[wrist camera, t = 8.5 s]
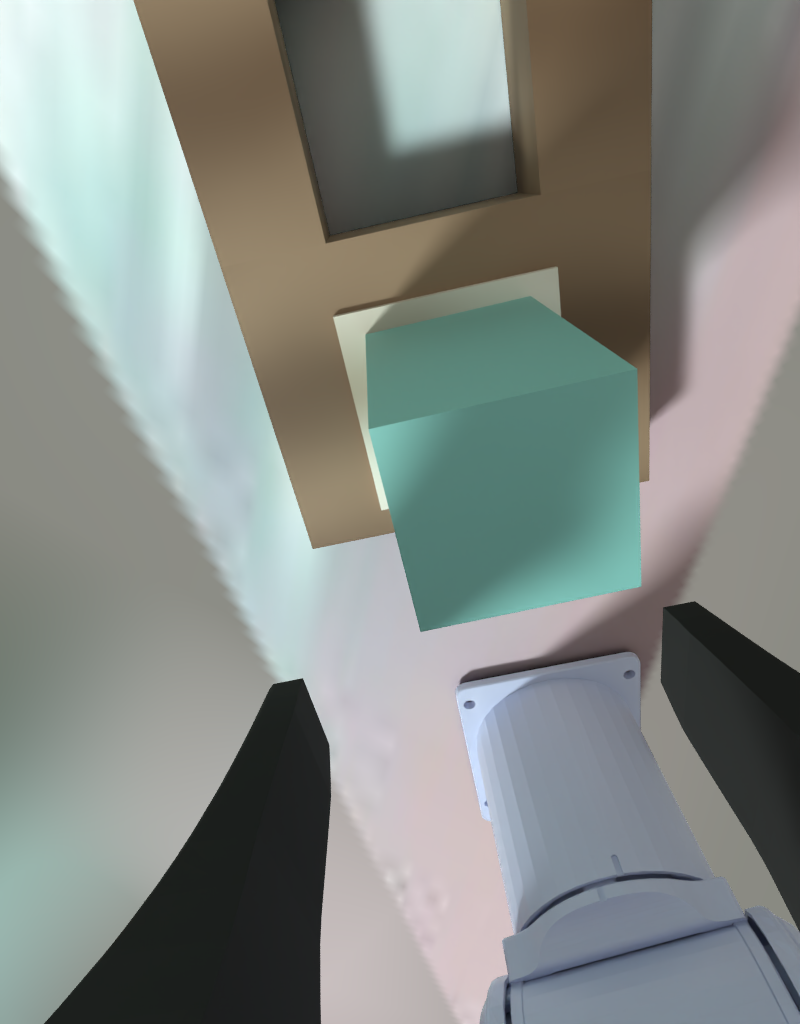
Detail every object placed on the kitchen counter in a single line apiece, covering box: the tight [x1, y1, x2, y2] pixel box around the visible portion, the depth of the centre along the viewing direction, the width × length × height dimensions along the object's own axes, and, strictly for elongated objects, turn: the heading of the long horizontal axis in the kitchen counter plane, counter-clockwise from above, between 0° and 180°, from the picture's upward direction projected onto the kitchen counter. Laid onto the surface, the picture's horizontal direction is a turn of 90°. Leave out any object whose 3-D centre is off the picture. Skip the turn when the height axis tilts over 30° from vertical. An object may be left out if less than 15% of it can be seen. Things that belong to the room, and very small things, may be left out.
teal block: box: [365, 296, 641, 632], centre depth 14 cm, size 4×4×7 cm
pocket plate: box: [134, 0, 652, 549], centre depth 16 cm, size 16×11×3 cm
